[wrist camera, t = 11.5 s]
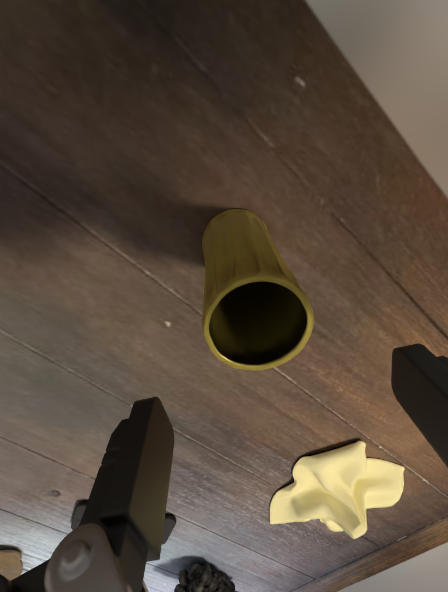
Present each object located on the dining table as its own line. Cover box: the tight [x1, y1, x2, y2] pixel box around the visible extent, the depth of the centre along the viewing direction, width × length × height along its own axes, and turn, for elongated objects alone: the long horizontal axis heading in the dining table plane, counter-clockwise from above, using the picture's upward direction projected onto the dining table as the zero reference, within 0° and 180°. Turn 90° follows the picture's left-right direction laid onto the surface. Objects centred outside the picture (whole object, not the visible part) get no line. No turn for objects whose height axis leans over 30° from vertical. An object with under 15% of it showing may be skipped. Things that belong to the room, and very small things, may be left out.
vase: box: [202, 209, 314, 371], centre depth 20 cm, size 6×6×14 cm
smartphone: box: [71, 501, 176, 545], centre depth 45 cm, size 7×15×1 cm, turn 69°
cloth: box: [270, 441, 405, 539], centre depth 41 cm, size 22×19×6 cm
